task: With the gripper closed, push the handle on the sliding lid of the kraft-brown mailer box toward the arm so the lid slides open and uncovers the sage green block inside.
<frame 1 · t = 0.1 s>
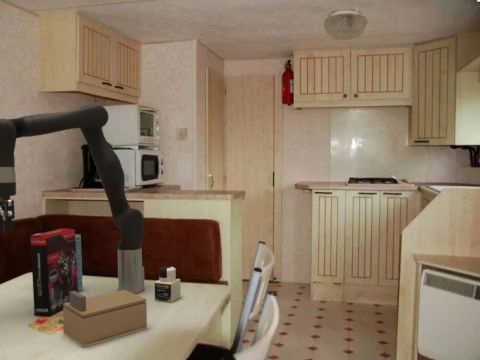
hand: (4, 231, 141), 29 cm above the table, tool pointing down, fingers open, 8 cm apart
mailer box: (105, 330, 132), on the table
lid: (105, 295, 131), point 11 cm above the table, slide at 0.0 cm
graphics card box: (56, 309, 153), on the table
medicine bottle: (167, 299, 162), on the table
gum box: (58, 290, 175), on the table
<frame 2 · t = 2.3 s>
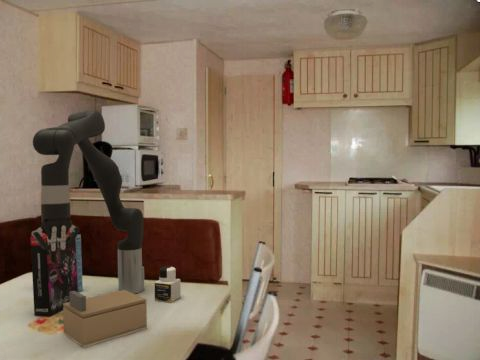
hand: (57, 263, 121), 23 cm above the table, tool pointing down, fingers closed
nothing on the table moved.
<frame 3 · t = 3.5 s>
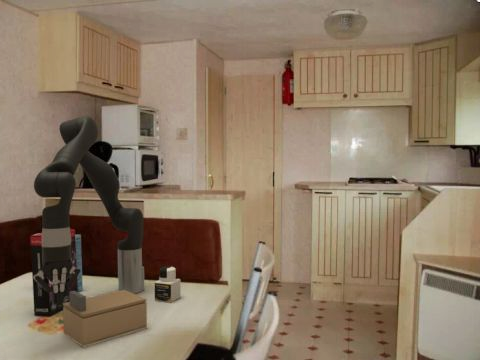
hand: (57, 304, 122), 11 cm above the table, tool pointing down, fingers closed
nothing on the table moved.
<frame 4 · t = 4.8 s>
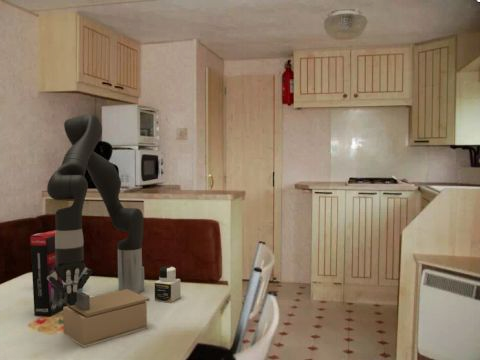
hand: (70, 304, 124), 10 cm above the table, tool pointing down, fingers closed
lid: (108, 295, 132), point 11 cm above the table, slide at 1.1 cm, touching gripper
everything else where it was.
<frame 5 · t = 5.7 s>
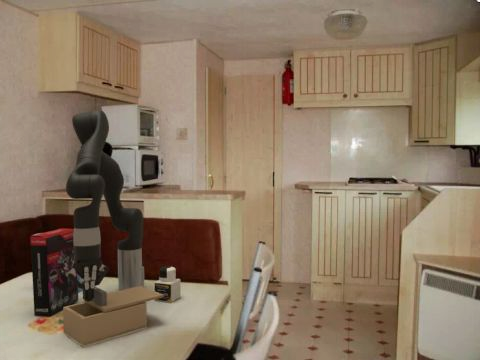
hand: (88, 300, 128), 10 cm above the table, tool pointing down, fingers closed
lid: (124, 291, 136), point 11 cm above the table, slide at 6.3 cm, touching gripper
everything else where it was.
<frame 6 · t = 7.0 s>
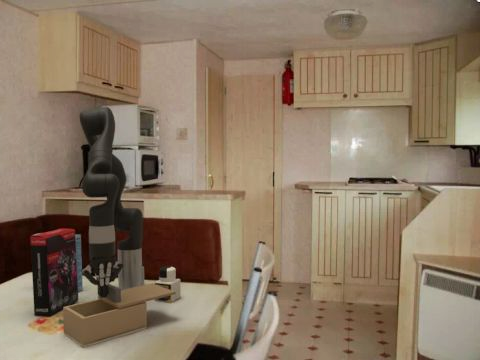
hand: (103, 297, 131), 10 cm above the table, tool pointing down, fingers closed
lid: (137, 288, 139), point 11 cm above the table, slide at 10.8 cm, touching gripper
everything else where it was.
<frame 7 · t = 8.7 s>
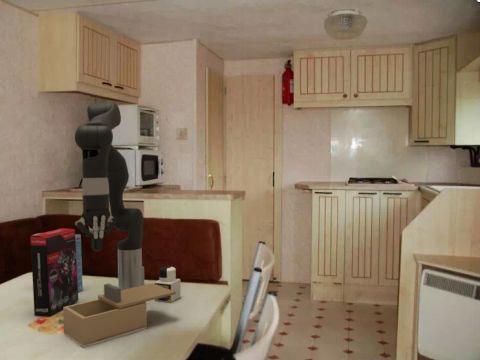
hand: (97, 250, 130), 25 cm above the table, tool pointing down, fingers closed
lid: (137, 288, 139), point 11 cm above the table, slide at 10.8 cm
everything else where it was.
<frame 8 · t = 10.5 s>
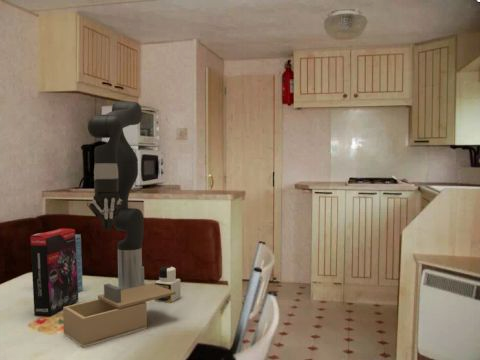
hand: (107, 230, 142), 29 cm above the table, tool pointing down, fingers closed
nothing on the table moved.
at the end: lid slide at 10.8 cm; graphics card box moved 0.2 cm from its start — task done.
